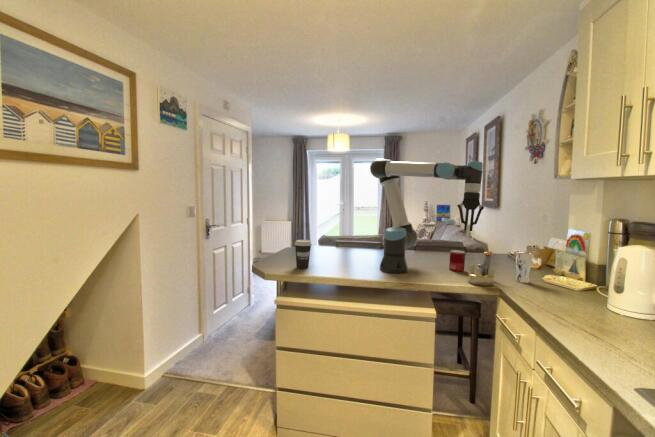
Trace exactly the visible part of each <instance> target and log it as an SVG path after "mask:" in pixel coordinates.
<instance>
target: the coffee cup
mask: <svg viewBox="0 0 655 437" xmlns="http://www.w3.org/2000/svg"><path fill="white" fill-rule="evenodd" d="M311 246H312V242H311V240H309V239H296V240H295V242H294V248H295V264H296V266H295V267H296V269H299V270H305V269H306V270H307V269H309V264H310V256H311V248H312V247H311Z"/></svg>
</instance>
